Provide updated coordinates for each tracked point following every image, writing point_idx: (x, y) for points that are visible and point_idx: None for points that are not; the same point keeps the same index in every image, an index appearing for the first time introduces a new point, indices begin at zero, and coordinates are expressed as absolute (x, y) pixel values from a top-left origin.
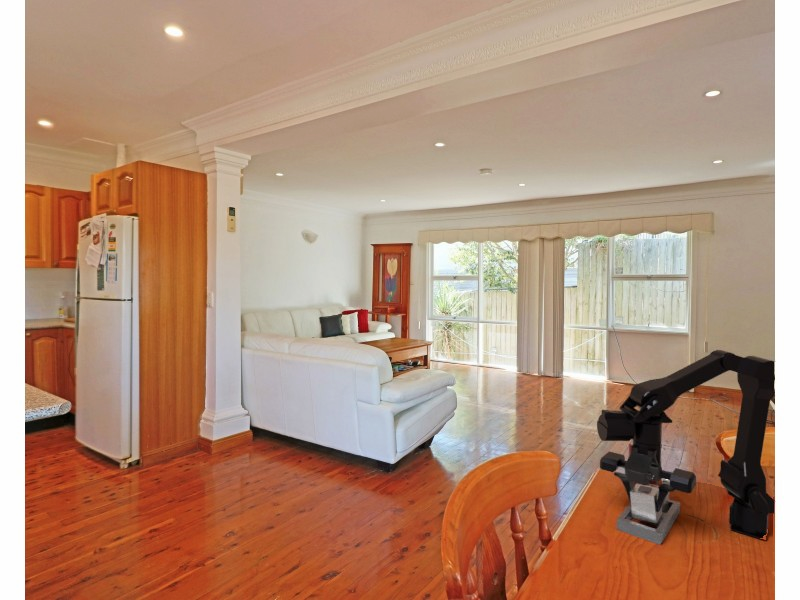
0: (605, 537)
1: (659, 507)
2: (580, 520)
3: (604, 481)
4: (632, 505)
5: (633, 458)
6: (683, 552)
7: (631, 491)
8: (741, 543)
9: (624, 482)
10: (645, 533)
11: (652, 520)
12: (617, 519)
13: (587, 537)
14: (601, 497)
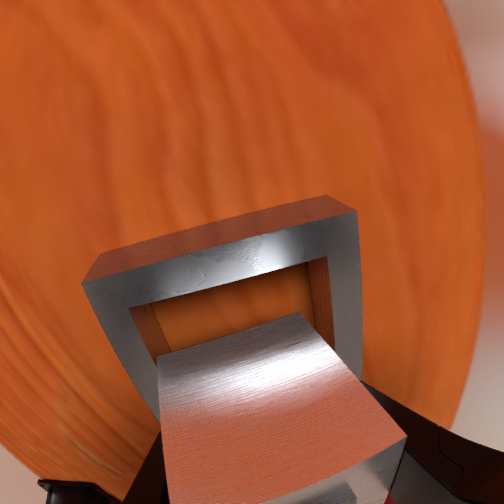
0: (322, 68)
1: (151, 455)
2: (456, 133)
3: (441, 422)
4: (330, 361)
5: None
6: (26, 286)
7: (395, 448)
8: (37, 451)
9: (488, 463)
10: (171, 247)
11: (179, 357)
12: (351, 209)
13: (371, 10)
14: (442, 361)
